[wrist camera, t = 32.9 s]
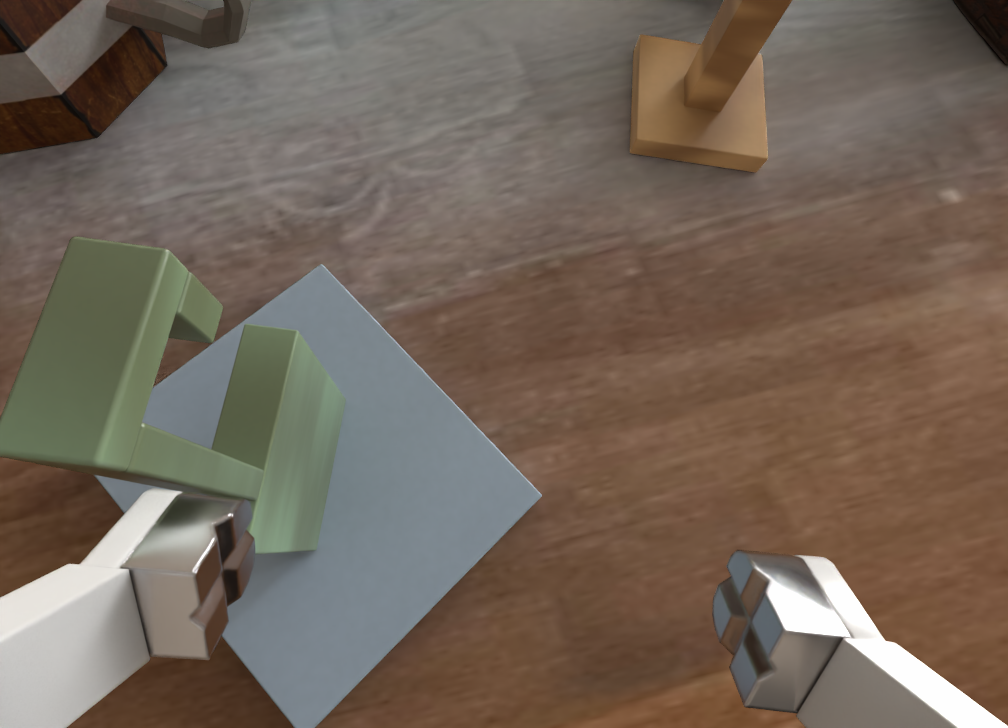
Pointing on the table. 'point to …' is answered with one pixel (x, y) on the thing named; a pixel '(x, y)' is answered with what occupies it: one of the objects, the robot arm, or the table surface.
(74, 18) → the mug
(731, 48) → the hook stand
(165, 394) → the felt pad
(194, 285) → the hanger
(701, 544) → the table surface
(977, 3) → the coffee grinder
